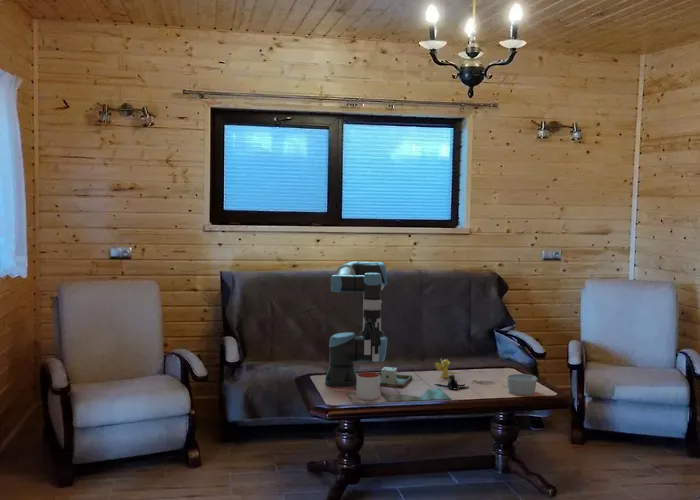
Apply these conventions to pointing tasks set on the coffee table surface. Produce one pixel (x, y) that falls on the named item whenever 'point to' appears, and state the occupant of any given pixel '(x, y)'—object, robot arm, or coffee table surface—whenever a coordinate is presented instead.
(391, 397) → the track
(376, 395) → the cup
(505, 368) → the coffee table surface
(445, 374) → the figurine
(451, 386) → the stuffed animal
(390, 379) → the die
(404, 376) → the dice tray
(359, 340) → the robot arm
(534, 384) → the ramekin
